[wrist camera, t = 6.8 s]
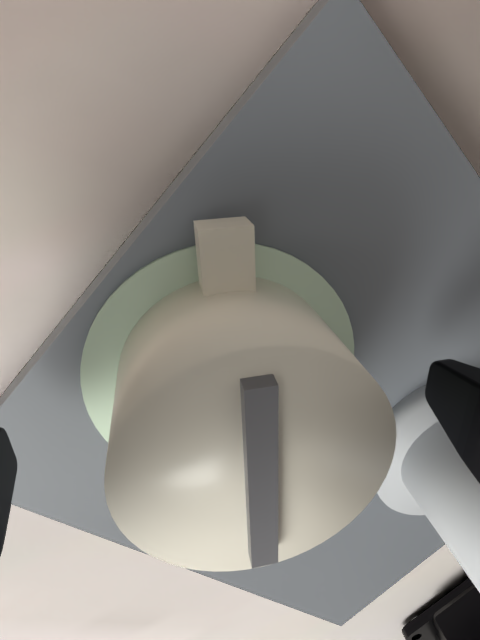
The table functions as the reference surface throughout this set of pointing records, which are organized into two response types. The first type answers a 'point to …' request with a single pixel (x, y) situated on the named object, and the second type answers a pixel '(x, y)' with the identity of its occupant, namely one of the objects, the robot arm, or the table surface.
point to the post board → (309, 283)
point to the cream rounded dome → (240, 419)
